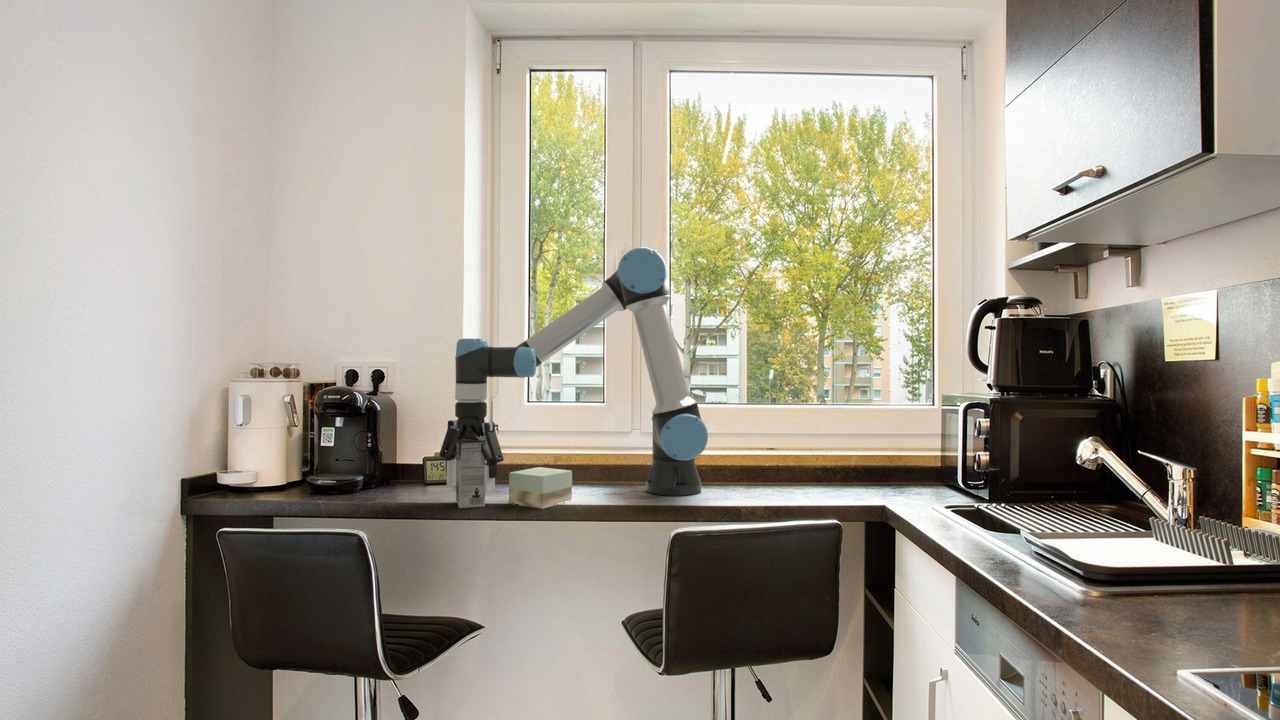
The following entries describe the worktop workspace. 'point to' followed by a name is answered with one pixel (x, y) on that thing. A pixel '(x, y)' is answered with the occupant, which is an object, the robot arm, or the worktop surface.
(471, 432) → the robot arm
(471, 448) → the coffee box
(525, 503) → the slab bottom
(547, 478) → the slab top
